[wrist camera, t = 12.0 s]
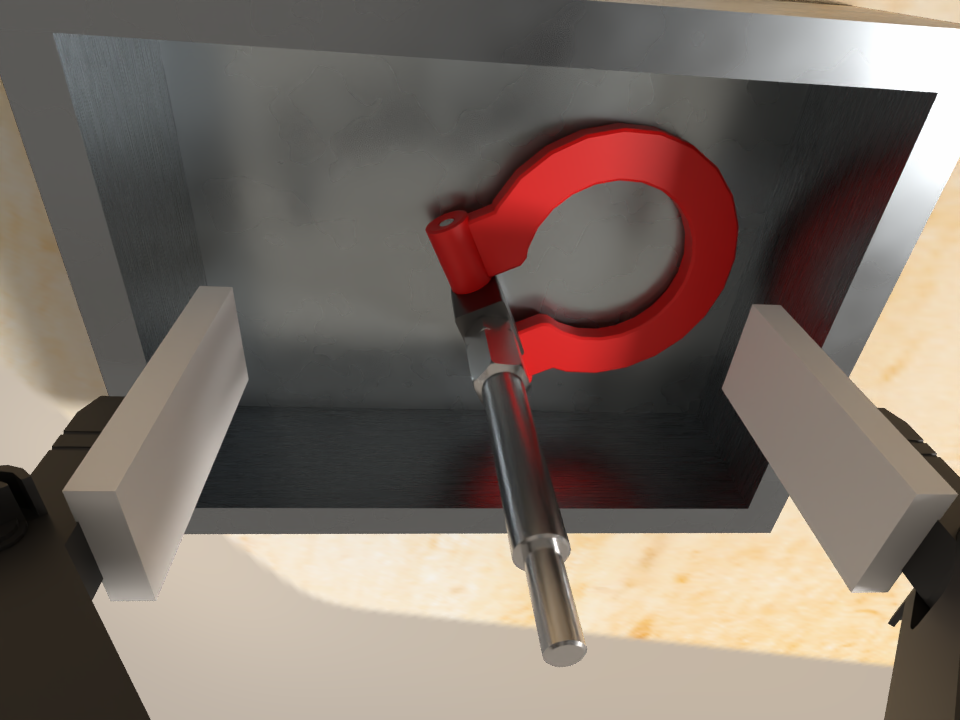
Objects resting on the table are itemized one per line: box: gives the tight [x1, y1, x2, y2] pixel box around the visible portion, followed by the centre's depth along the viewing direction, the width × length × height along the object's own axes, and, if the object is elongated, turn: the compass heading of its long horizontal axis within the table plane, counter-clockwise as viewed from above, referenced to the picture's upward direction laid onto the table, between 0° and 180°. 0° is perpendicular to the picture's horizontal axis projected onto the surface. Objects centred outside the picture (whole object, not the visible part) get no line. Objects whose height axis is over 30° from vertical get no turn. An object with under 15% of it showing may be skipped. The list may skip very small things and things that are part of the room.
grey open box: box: [0, 0, 960, 534], centre depth 19 cm, size 20×15×6 cm
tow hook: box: [425, 123, 739, 667], centre depth 15 cm, size 8×13×9 cm
